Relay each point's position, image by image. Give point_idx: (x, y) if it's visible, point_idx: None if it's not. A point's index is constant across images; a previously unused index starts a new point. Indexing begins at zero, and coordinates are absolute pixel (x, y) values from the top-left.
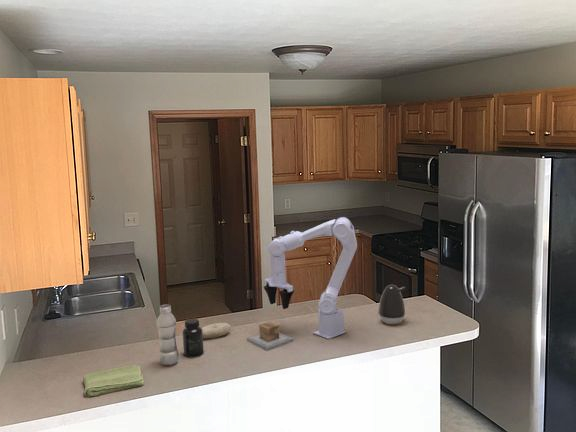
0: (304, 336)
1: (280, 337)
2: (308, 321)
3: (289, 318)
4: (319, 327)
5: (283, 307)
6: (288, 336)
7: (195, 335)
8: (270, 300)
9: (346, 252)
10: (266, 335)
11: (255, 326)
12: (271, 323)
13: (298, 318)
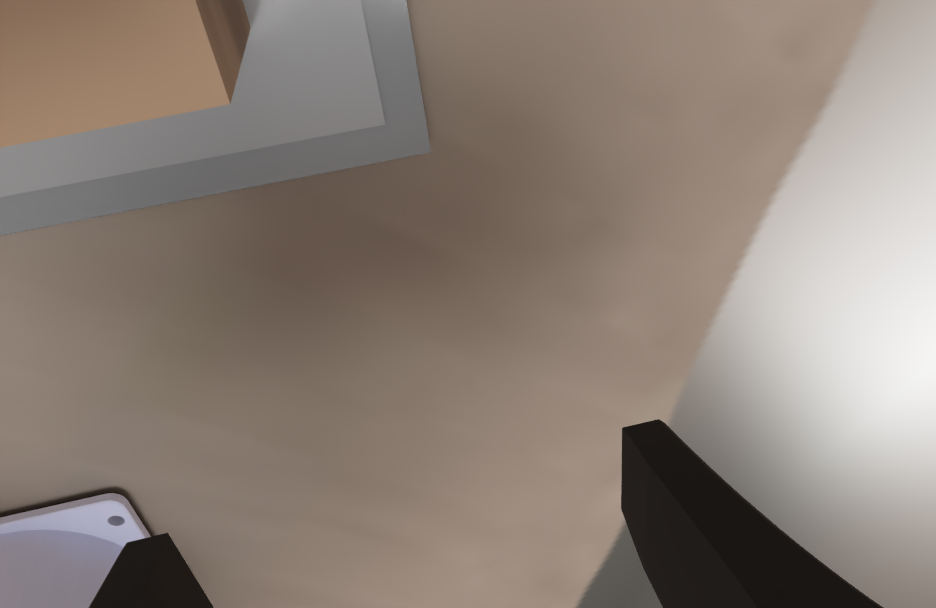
0: (80, 391)
1: None
2: (458, 537)
3: None
4: (17, 596)
5: (113, 574)
6: (52, 224)
7: None
8: (666, 493)
9: None
10: None
11: (758, 27)
12: (83, 70)
13: (583, 497)
